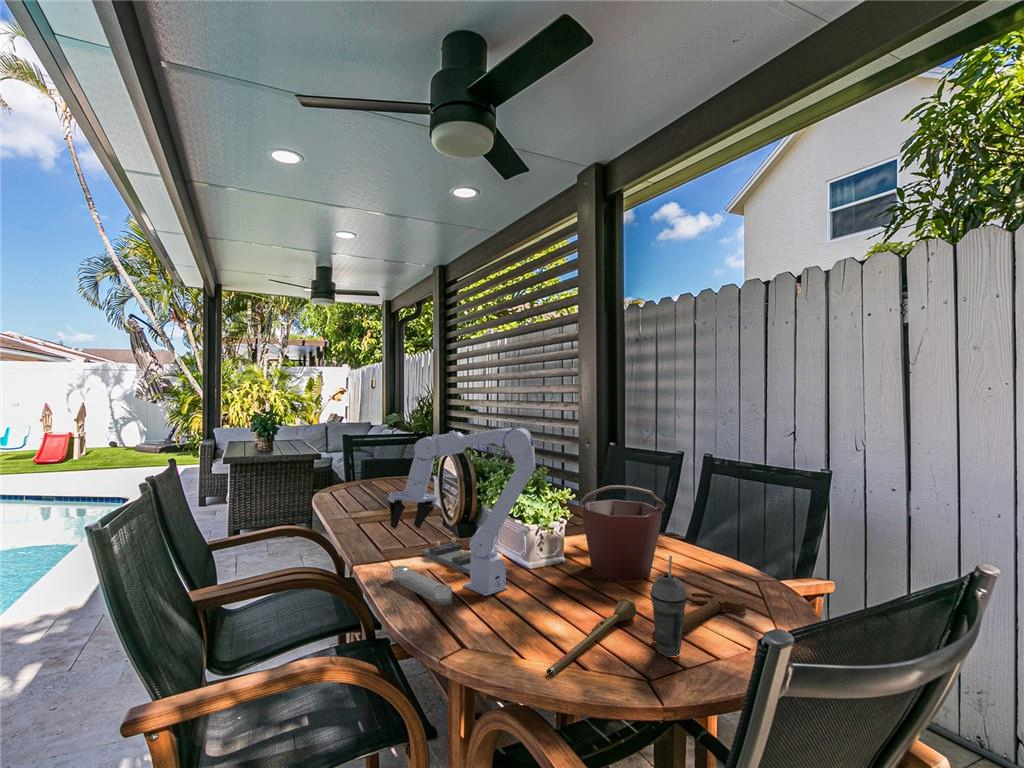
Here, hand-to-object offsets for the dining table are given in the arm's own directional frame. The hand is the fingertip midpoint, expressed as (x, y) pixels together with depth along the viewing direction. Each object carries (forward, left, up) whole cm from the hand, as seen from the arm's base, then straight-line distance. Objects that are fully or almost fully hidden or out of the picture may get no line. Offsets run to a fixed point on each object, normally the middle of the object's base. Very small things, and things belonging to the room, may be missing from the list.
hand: (405, 527), depth 146 cm
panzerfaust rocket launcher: (-56, -12, -16) cm, 60 cm away
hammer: (-65, -35, -16) cm, 76 cm away
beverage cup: (-69, -19, -15) cm, 73 cm away
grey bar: (-8, 0, -15) cm, 17 cm away
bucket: (-35, -51, -15) cm, 64 cm away
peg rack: (+5, -22, -15) cm, 27 cm away
